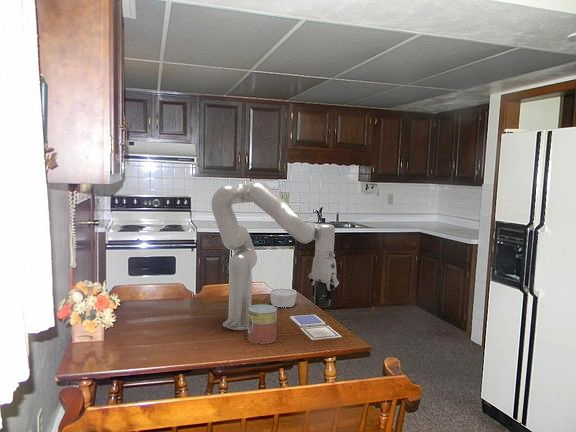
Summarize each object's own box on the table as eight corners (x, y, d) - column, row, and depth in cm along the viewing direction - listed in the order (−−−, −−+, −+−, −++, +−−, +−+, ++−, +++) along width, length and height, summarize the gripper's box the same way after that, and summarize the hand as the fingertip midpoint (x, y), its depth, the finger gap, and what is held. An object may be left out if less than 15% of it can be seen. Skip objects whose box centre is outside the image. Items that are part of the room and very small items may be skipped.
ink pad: (325, 325, 188) (325, 322, 188) (299, 327, 184) (300, 325, 184) (314, 316, 199) (314, 314, 199) (290, 318, 195) (290, 315, 195)
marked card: (341, 337, 175) (341, 336, 174) (312, 340, 170) (312, 339, 170) (328, 326, 187) (328, 325, 187) (300, 328, 182) (300, 327, 182)
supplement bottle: (324, 308, 172) (326, 278, 171) (310, 304, 177) (311, 275, 175) (333, 304, 178) (335, 275, 177) (319, 300, 182) (321, 272, 181)
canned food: (244, 334, 174) (245, 305, 172) (270, 331, 178) (271, 303, 176) (251, 345, 163) (252, 314, 162) (279, 342, 167) (281, 312, 166)
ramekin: (266, 301, 219) (267, 288, 218) (291, 300, 223) (291, 287, 222) (273, 309, 206) (274, 295, 205) (299, 308, 210) (300, 294, 209)
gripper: (346, 257, 171) (344, 300, 173) (315, 250, 184) (313, 291, 186) (334, 259, 166) (332, 304, 168) (302, 252, 179) (300, 294, 181)
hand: (322, 297), depth 177 cm, fingers closed on supplement bottle, 6 cm apart
